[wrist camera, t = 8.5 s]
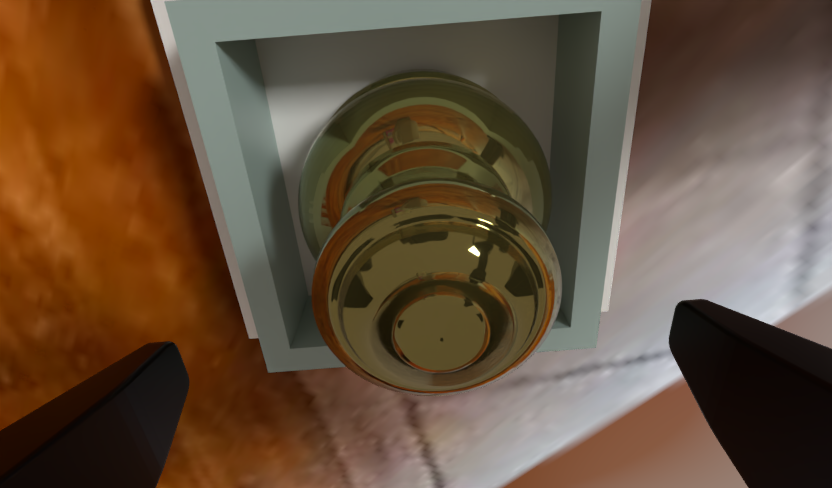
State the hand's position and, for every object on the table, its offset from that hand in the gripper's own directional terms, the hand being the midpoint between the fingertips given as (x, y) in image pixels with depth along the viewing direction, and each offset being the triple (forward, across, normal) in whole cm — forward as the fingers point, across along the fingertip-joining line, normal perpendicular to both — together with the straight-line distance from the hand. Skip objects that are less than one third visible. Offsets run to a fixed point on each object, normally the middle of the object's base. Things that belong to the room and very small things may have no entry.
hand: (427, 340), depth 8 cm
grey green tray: (+11, 0, 0) cm, 11 cm away
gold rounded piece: (+10, 0, 0) cm, 10 cm away
